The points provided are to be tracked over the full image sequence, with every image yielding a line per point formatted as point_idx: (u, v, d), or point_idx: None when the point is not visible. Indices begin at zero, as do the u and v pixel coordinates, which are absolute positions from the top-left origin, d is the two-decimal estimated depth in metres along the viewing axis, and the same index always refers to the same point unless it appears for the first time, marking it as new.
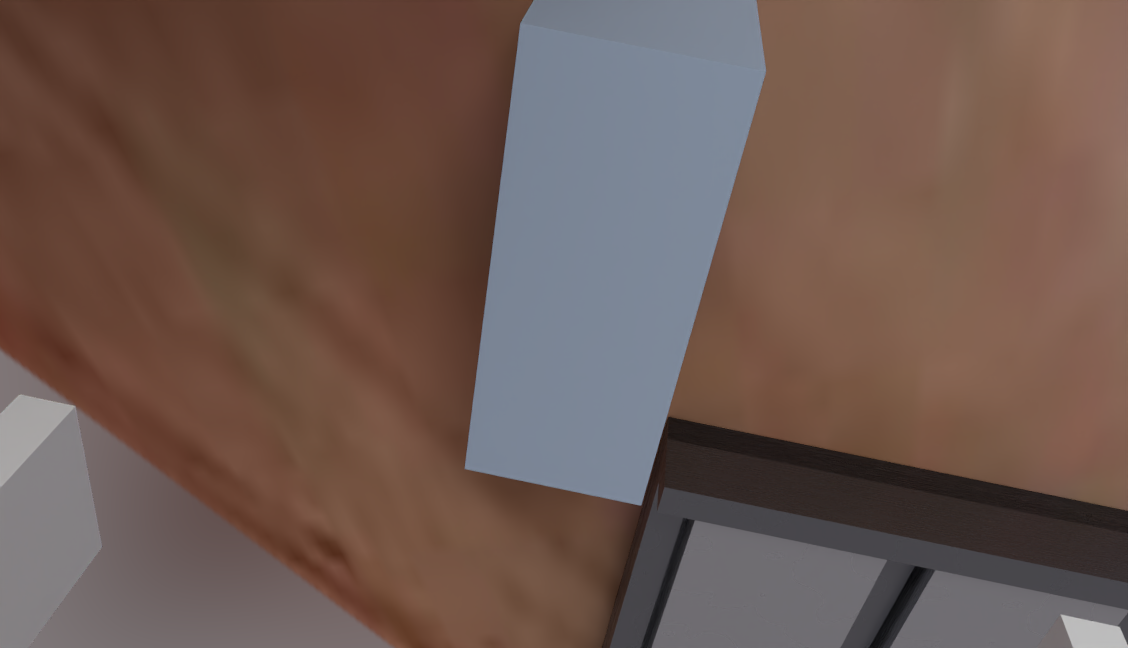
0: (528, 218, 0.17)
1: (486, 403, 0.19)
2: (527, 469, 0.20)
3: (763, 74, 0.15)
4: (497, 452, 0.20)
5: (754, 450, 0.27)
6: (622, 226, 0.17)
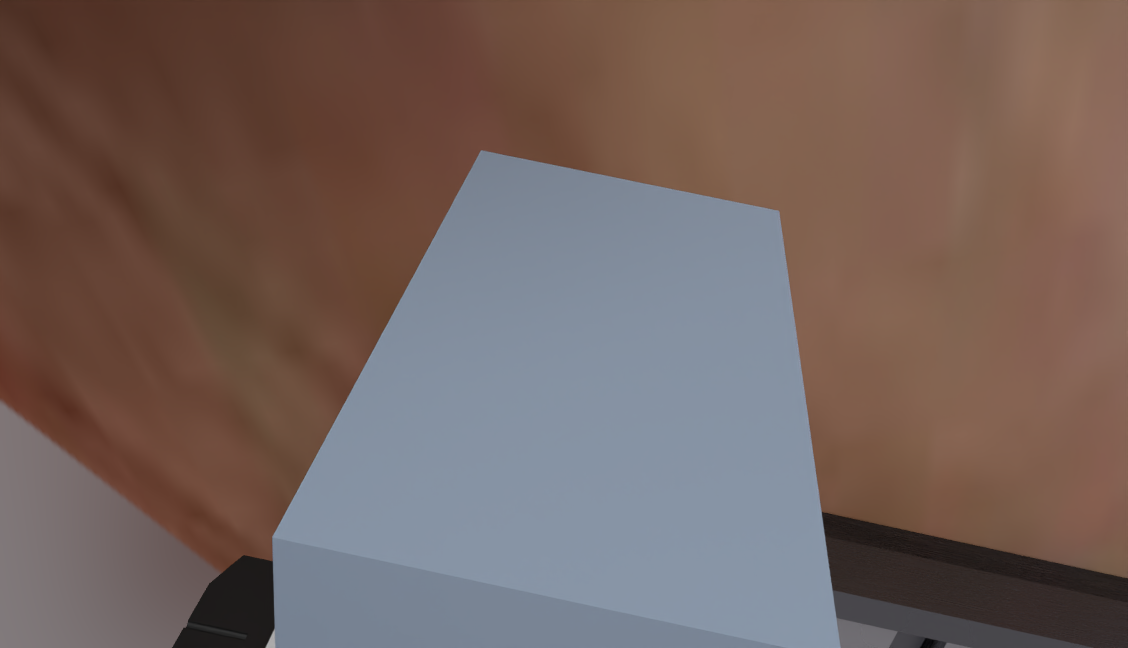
0: None
1: None
2: None
3: None
4: None
5: None
6: None
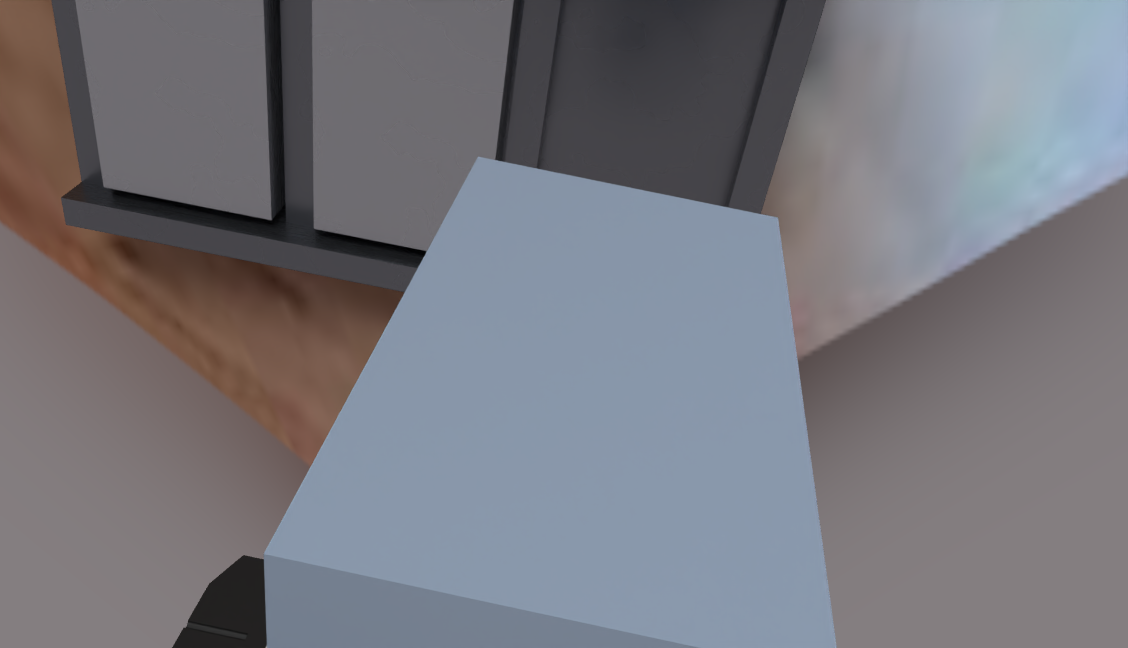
0: None
1: None
2: None
3: None
4: None
5: None
6: None
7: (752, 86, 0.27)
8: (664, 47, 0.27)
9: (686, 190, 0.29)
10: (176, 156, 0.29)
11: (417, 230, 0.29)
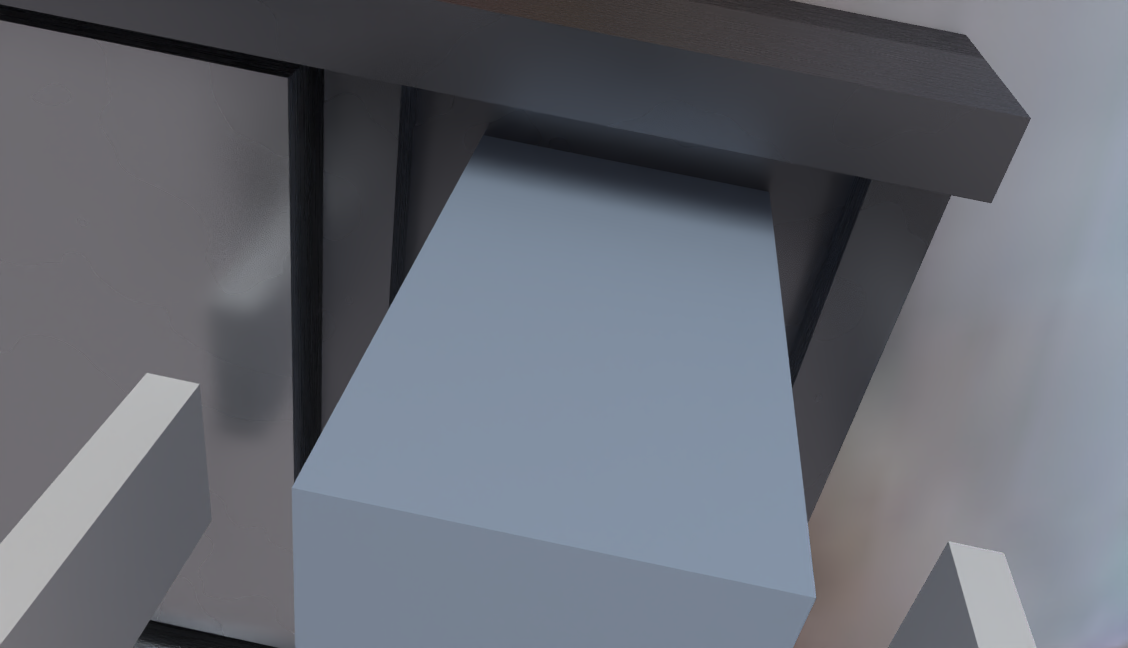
0: None
1: None
2: None
3: (809, 588, 0.07)
4: None
5: None
6: None
7: None
8: None
9: None
10: None
11: (179, 603, 0.17)
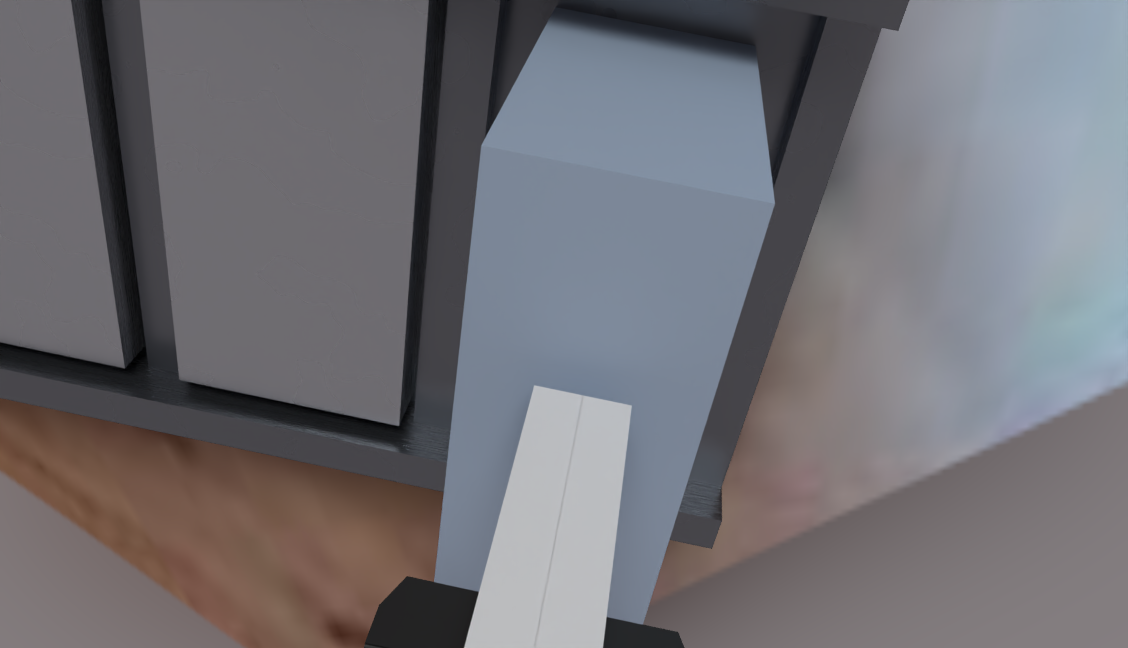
0: (496, 359, 0.14)
1: (453, 551, 0.17)
2: None
3: (772, 205, 0.13)
4: None
5: None
6: (606, 369, 0.14)
7: None
8: None
9: None
10: None
11: (312, 386, 0.23)
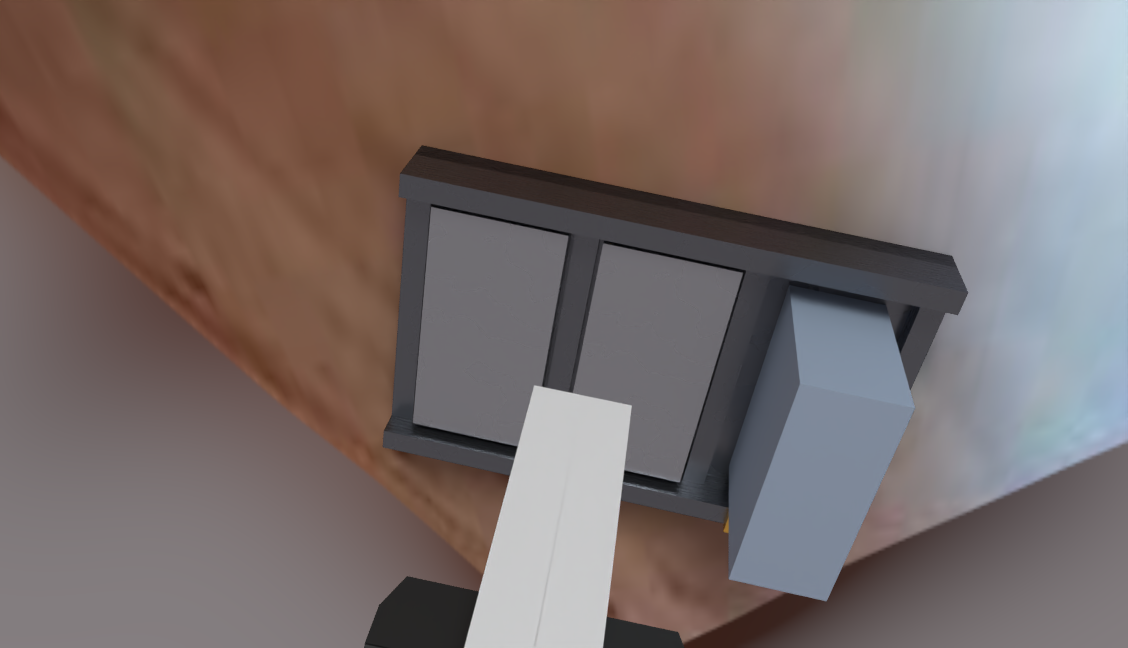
0: (788, 462, 0.34)
1: (748, 546, 0.36)
2: (764, 580, 0.37)
3: (912, 407, 0.32)
4: (749, 571, 0.37)
5: (479, 164, 0.37)
6: (836, 467, 0.34)
7: None
8: None
9: None
10: (470, 408, 0.42)
11: (635, 460, 0.42)
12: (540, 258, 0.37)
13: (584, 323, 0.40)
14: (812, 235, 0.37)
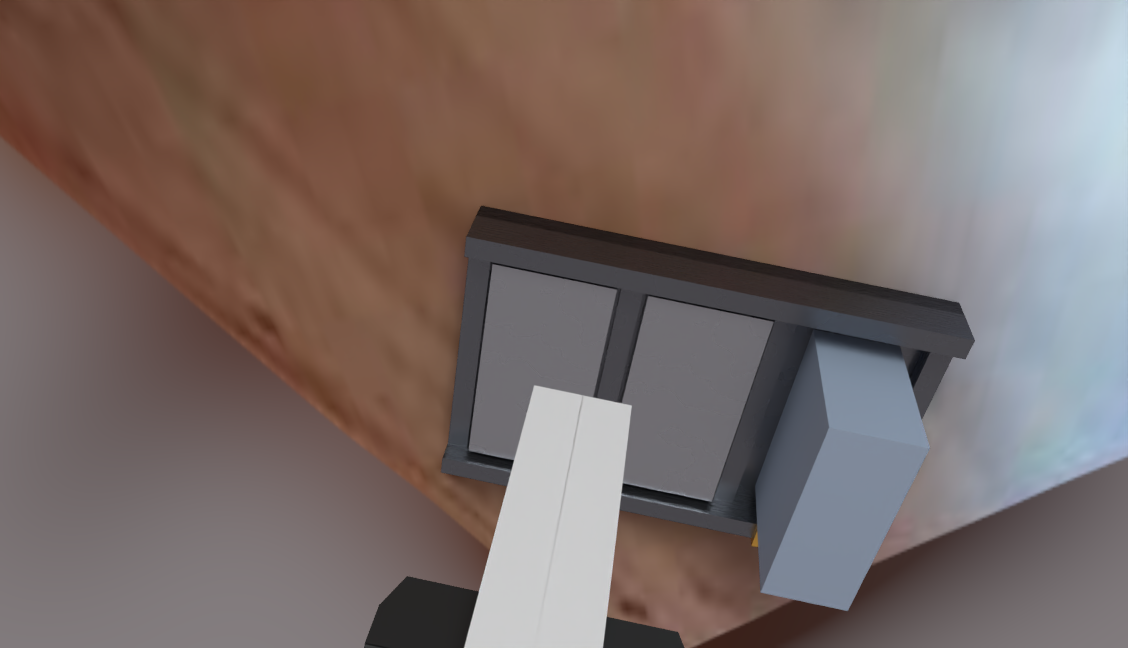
0: (817, 493, 0.38)
1: (779, 564, 0.41)
2: (792, 593, 0.42)
3: (927, 447, 0.36)
4: (779, 585, 0.42)
5: (534, 224, 0.41)
6: (859, 497, 0.38)
7: None
8: None
9: None
10: None
11: (671, 483, 0.46)
12: (590, 308, 0.41)
13: (626, 361, 0.45)
14: (835, 286, 0.41)
